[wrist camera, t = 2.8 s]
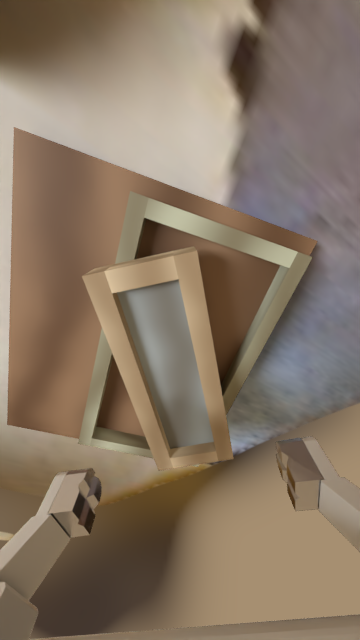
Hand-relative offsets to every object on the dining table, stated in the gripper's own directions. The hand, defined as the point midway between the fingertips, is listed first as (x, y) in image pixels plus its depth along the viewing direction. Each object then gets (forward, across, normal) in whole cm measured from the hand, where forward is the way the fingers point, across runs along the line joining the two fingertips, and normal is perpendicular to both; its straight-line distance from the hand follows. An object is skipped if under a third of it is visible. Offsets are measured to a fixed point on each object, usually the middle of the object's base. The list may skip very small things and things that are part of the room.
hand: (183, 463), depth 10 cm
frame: (+7, +1, 0) cm, 7 cm away
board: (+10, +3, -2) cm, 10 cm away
